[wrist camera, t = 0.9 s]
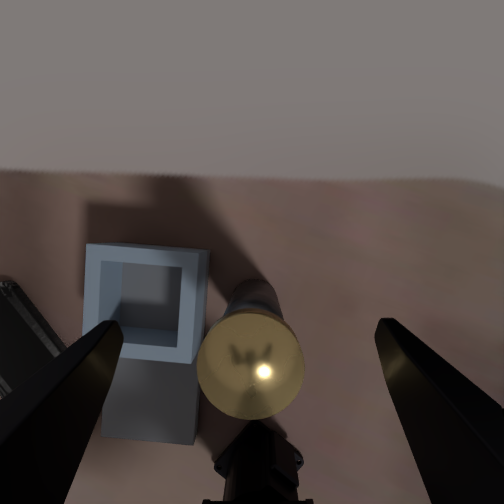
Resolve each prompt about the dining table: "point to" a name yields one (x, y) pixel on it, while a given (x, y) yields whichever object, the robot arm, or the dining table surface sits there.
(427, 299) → the dining table surface
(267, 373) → the pin
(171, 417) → the hitch socket
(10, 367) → the phone
